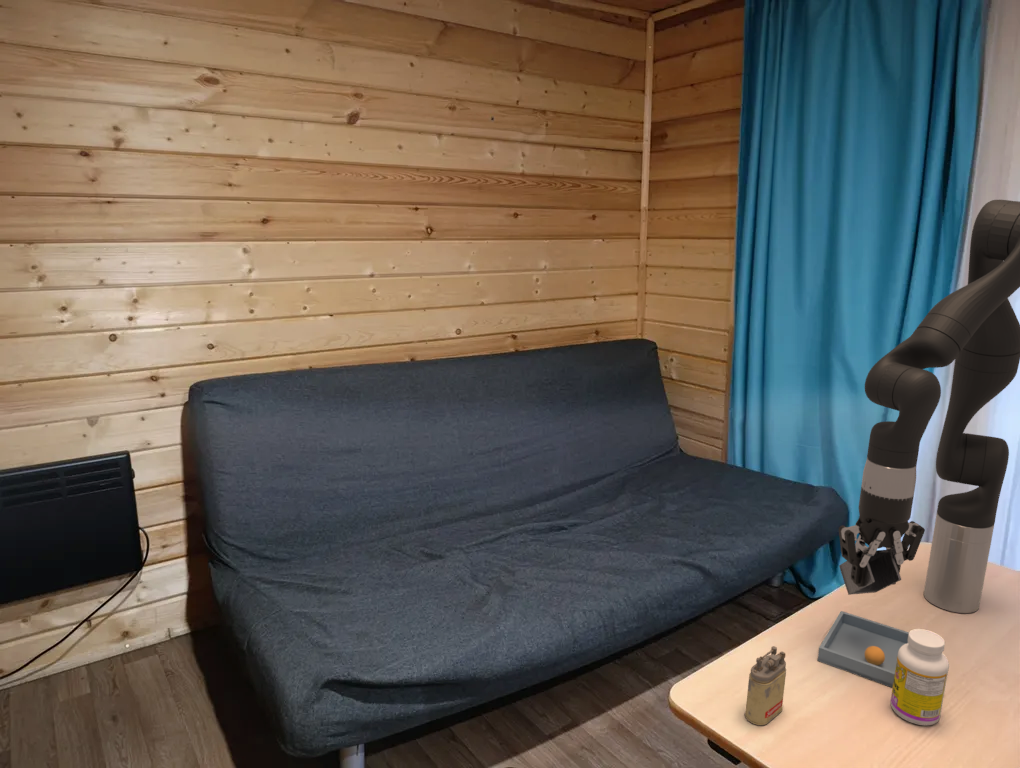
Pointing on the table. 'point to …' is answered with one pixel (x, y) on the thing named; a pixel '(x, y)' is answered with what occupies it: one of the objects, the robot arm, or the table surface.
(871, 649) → the ball
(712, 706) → the table surface
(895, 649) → the tray
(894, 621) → the table surface
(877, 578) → the open box
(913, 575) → the table surface
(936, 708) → the supplement bottle
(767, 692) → the lighter
